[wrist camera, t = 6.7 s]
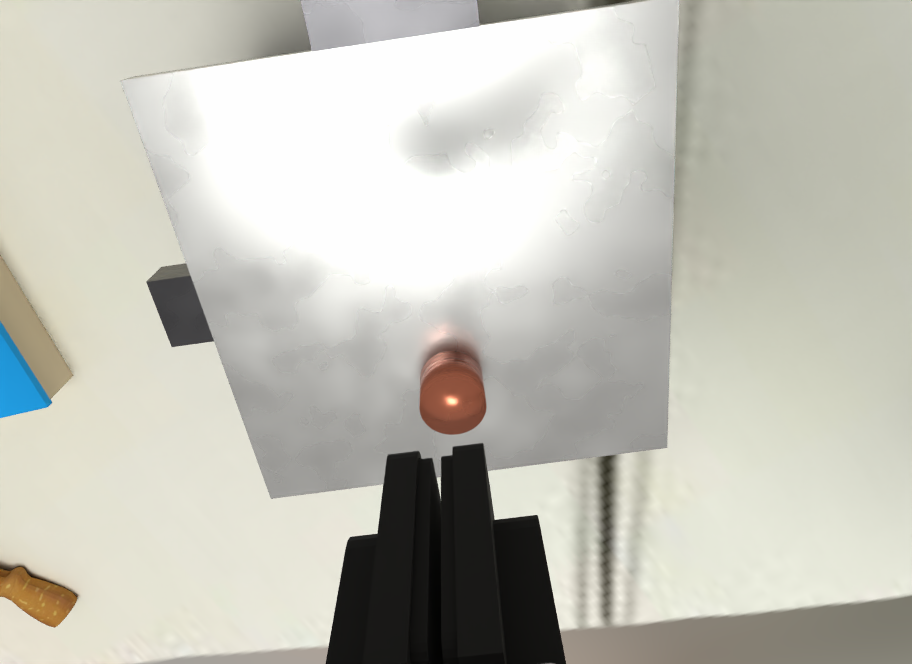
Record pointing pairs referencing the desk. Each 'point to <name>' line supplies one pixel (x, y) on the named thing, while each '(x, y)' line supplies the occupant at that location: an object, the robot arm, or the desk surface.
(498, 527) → the robot arm
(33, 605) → the orange and grey rod
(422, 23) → the cooker lid
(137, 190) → the desk surface
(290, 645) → the desk surface
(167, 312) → the grey open box
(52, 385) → the book
